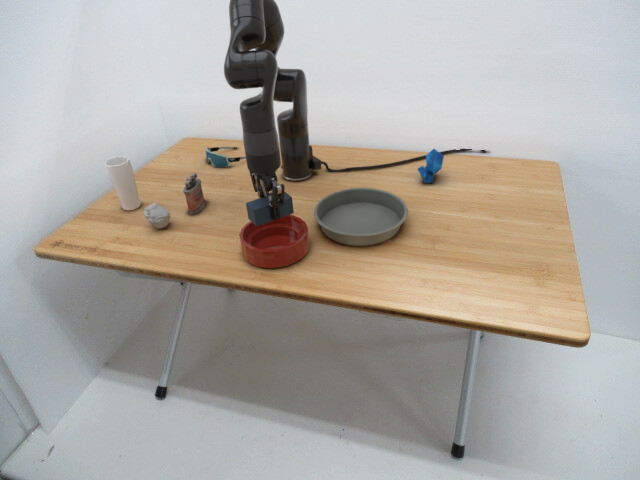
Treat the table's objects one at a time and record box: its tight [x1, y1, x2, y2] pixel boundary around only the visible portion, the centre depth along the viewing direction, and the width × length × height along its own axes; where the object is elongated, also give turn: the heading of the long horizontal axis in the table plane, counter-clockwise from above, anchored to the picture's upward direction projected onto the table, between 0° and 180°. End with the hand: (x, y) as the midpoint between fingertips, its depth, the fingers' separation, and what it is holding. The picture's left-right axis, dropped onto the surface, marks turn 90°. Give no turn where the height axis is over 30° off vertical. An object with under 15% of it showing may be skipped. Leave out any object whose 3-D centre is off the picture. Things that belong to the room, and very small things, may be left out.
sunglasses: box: [205, 146, 246, 168], centre depth 164 cm, size 14×15×5 cm
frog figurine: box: [143, 202, 171, 230], centre depth 127 cm, size 6×7×7 cm
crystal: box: [417, 148, 445, 184], centre depth 141 cm, size 7×9×12 cm
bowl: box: [239, 214, 310, 269], centre depth 115 cm, size 17×17×6 cm
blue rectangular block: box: [245, 191, 295, 227], centre depth 110 cm, size 10×4×4 cm, turn 122°
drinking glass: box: [104, 155, 142, 212], centre depth 136 cm, size 7×7×15 cm
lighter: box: [182, 172, 206, 216], centre depth 134 cm, size 8×3×10 cm, turn 168°
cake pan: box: [313, 187, 409, 247], centre depth 123 cm, size 25×25×4 cm
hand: (270, 214), depth 111 cm, fingers closed on blue rectangular block, 4 cm apart
